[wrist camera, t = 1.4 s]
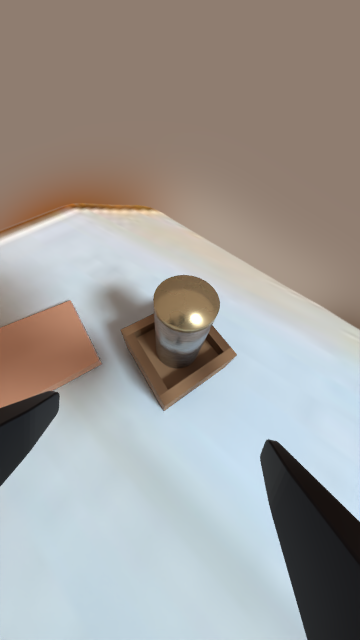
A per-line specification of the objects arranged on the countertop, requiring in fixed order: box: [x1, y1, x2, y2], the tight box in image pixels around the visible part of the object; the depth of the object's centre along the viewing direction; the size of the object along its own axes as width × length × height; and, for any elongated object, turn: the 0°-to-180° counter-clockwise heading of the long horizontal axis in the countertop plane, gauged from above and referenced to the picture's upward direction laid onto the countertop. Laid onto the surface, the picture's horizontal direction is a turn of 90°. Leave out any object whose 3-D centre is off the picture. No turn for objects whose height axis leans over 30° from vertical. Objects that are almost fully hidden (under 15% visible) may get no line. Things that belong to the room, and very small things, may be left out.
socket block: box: [121, 314, 237, 411], centre depth 22 cm, size 9×9×4 cm
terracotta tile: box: [0, 301, 102, 408], centre depth 22 cm, size 10×10×1 cm
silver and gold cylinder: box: [153, 275, 220, 369], centre depth 17 cm, size 5×5×9 cm
